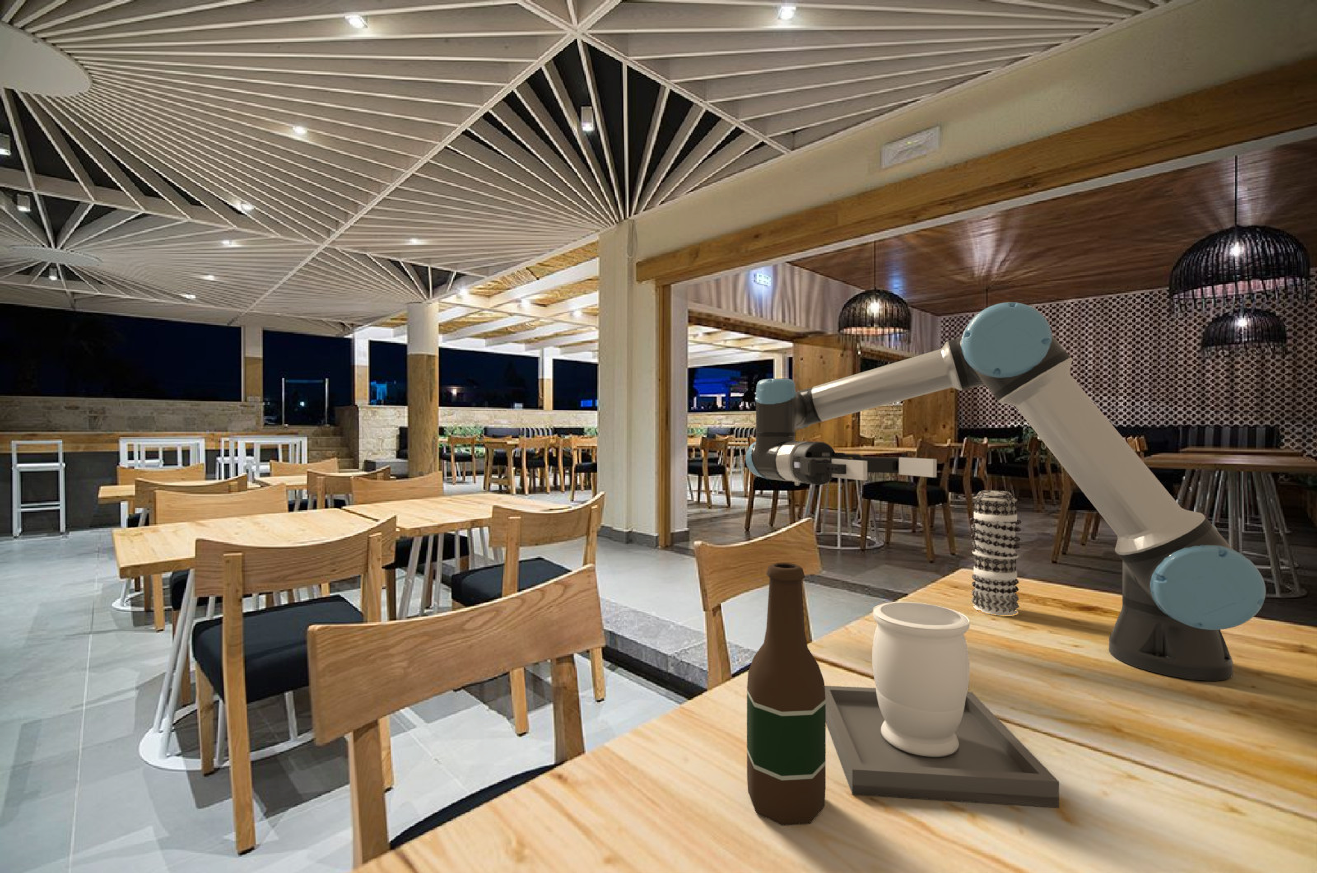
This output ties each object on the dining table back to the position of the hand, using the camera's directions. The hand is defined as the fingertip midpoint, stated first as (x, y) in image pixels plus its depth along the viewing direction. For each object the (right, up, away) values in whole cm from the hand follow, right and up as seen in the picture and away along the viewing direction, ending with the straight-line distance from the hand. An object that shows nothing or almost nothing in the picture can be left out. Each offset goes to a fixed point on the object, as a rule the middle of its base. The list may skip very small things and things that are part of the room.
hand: (901, 469), depth 84 cm
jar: (-4, -31, -16) cm, 35 cm away
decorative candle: (+35, -32, +38) cm, 61 cm away
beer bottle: (-22, -32, -26) cm, 47 cm away
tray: (-4, -32, -16) cm, 36 cm away
